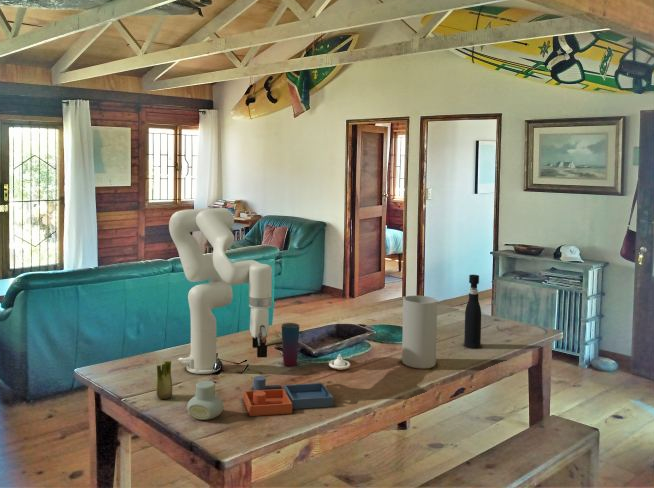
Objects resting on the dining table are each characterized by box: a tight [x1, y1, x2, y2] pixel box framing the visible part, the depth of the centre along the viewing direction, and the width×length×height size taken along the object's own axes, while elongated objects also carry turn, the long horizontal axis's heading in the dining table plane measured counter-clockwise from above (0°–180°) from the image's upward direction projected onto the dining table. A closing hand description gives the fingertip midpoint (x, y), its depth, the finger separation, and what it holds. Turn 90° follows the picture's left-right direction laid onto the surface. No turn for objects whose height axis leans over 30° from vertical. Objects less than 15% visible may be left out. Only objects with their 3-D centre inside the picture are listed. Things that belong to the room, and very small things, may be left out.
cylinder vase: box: [401, 295, 438, 370], centre depth 230 cm, size 12×12×25 cm
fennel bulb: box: [155, 360, 173, 400], centre depth 196 cm, size 6×5×12 cm
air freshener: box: [186, 380, 224, 421], centre depth 183 cm, size 11×8×10 cm
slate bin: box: [283, 382, 334, 410], centre depth 195 cm, size 13×12×3 cm
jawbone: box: [267, 329, 282, 346], centre depth 257 cm, size 9×20×2 cm, turn 161°
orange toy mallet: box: [253, 391, 282, 406], centre depth 190 cm, size 9×4×4 cm, turn 100°
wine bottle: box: [463, 274, 482, 349], centre depth 252 cm, size 6×6×30 cm
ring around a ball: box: [328, 353, 351, 371], centre depth 224 cm, size 8×6×8 cm
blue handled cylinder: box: [253, 375, 282, 391], centre depth 204 cm, size 9×4×4 cm, turn 100°
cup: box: [281, 322, 300, 367], centre depth 229 cm, size 7×7×15 cm
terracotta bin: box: [243, 388, 293, 417], centre depth 190 cm, size 13×12×3 cm
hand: (259, 352), depth 201 cm, fingers open, 9 cm apart
